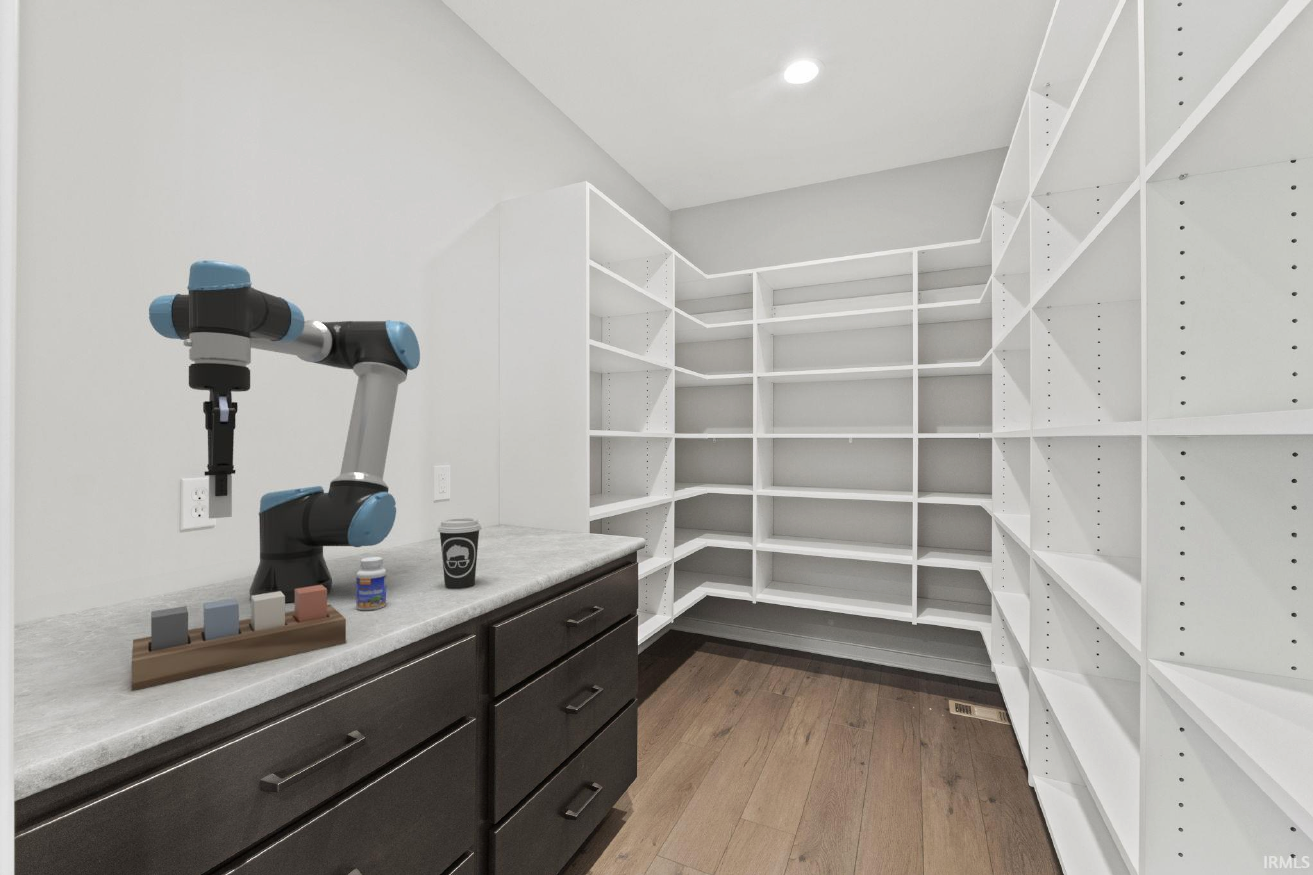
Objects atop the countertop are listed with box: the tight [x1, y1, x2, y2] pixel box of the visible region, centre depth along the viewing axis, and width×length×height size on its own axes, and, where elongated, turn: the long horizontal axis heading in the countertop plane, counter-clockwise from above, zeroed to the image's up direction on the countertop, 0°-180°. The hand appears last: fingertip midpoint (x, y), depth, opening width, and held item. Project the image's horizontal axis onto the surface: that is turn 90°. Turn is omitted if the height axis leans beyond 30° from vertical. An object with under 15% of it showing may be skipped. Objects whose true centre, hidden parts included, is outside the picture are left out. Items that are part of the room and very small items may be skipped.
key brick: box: [294, 585, 328, 623], centre depth 94 cm, size 4×4×5 cm
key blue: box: [203, 598, 240, 641], centre depth 86 cm, size 4×4×5 cm
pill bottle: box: [355, 556, 387, 611], centre depth 113 cm, size 5×5×10 cm
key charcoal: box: [150, 605, 189, 651], centre depth 82 cm, size 4×4×5 cm
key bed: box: [131, 603, 347, 692], centre depth 88 cm, size 11×26×4 cm, turn 132°
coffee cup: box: [437, 517, 482, 590], centre depth 129 cm, size 10×10×15 cm
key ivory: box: [250, 591, 286, 631], centre depth 90 cm, size 4×4×5 cm
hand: (220, 516), depth 86 cm, fingers closed
